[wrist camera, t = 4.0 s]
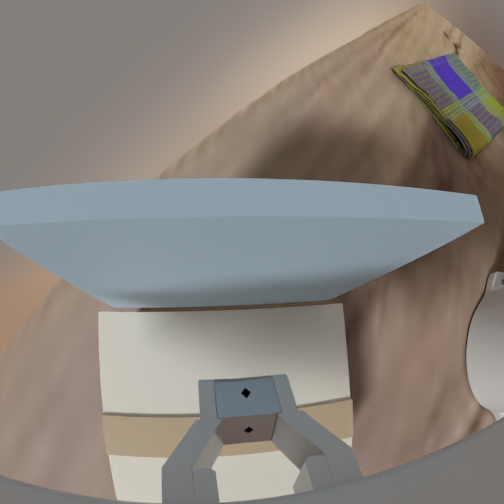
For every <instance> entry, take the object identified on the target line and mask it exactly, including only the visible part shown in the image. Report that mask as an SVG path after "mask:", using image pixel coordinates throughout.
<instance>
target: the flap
mask: <svg viewBox="0 0 504 504" xmlns="http://www.w3.org/2000/svg"><path fill="white" fill-rule="evenodd" d="M483 223H484V219H483V215H482V212H481V208H480V205H479V202H478V198H477V195H470V194H463V193H455V192H447V191H439V190H430V189H421V188H411V187H401V186H390V185H378V184H366V183H352V182H336V181H317V180H294V179H258V178H184V179H151V180H127V181H109V182H94V183H93V182H92V183H79V184H68V185H57V186H56V185H55V186H45V187H35V188H26V189H17V190H9V191H2V192H0V240H2V241H3V242H4V243H6V244H7V245H9V246H10V247H12V248H13V249H15V250H16V251H18V252H19V253H21V254H23V255H24V256H26V257H27V258H29V259H30V260H32V261H34V262H35V263H37V264H38V265H40V266H42V267H43V268H45V269H46V270H48V271H50V272H51V273H53V274H55V275H57V276H58V277H60V278H61V279H63V280H65V281H67V282H68V283H70V284H72V285H73V286H75V287H77V288H79V289H80V290H82V291H84V292H86V293H88V294H89V295H91V296H93V297H95V298H97V299H99V300H100V301H102V302H104V303H106V304H108V305H110V306H112V307H114V308H160V307H207V306H236V305H258V304H277V303H294V302H310V301H324V300H330V299H332V298H335V297H337V296H339V295H341V294H344V293H346V292H348V291H350V290H352V289H355V288H357V287H359V286H361V285H363V284H366V283H368V282H370V281H372V280H374V279H376V278H378V277H381V276H383V275H385V274H387V273H389V272H391V271H393V270H395V269H397V268H399V267H401V266H403V265H405V264H407V263H409V262H411V261H413V260H415V259H417V258H419V257H421V256H423V255H425V254H427V253H429V252H431V251H433V250H435V249H437V248H439V247H441V246H443V245H445V244H447V243H448V242H450V241H452V240H454V239H456V238H458V237H460V236H462V235H463V234H465V233H467V232H469V231H471V230H473V229H474V228H476V227H478V226H480V225H482V224H483Z"/></svg>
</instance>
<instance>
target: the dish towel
mask: <svg viewBox="0 0 504 504" xmlns="http://www.w3.org/2000/svg"><path fill="white" fill-rule="evenodd" d="M392 69H393V71H394V72H395V73H396V75H397V76H398V77H399V78H400V79H401V81H402V82H403V83H404V84H405V85H406V86H407V87H408V88H409V89H410V90H411V92H412V93H413V94H414V95H415V96H416V97H417V98H418V99H419V101H420V102H421V103H422V104H423V105H424V106H425V107H426V109H427V110H428V111H429V112H430V113H431V114H432V116H433V117H434V118H435V119H436V121H437V122H438V124H439V125H440V126H441V127H442V129H443V130H444V131H445V133H446V134H447V135H448V137H449V138H450V139H451V141H452V142H453V144H454V145H455V146H456V148H457V149H458V150H459V152H460V153H461V154H462V155H463V156H464V157H466V158H469V159H471V158H473V157H474V156H475V155H477V154H478V153H479V152H480V151H481V150H483V149H484V148H485V147H486V146H487V145H488V144H489V143H490V142H491V141H492V140H493V138H494V137H495V136H496V135H497V133H498V132H499V131H500V130H502V128H504V107H503V106H501V105H500V104H499V103H498V102H497V101H496V100H495V99H494V98H493V97H492V96H491V95H490V94H489V93H488V92H487V91H486V90H485V89H484V88H483V87H482V86H481V85H480V83H479V82H478V80H477V79H476V78H475V77H474V75H473V74H472V73H471V72H470V71H469V70H468V69H467V68H466V66H465V65H464V64H463V63H462V62H461V60H460V59H459V58H458V56H457V55H456V54H454V53H452V54H448V55H444V56H441V57H438V58H435V59H431V60H426V61H423V62H417V63H414V64H408V65H402V66H399V65H398V66H392Z"/></svg>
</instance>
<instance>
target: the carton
mask: <svg viewBox="0 0 504 504" xmlns="http://www.w3.org/2000/svg"><path fill="white" fill-rule="evenodd" d="M99 360H100V378H101V392H102V404H103V414H102V422H103V431H104V438H105V446H106V452H107V454H108V455H109V460H110V466H111V471H112V477H113V482H114V487H115V492H116V497H117V500H121V501H131V502H145V503H162V466H163V465H164V463H165V462H166V461H167V459H168V458H169V457H170V455H171V454H172V452H173V451H174V450H175V448H176V447H177V446H178V444H179V443H180V441H181V440H182V439H183V437H184V436H185V434H186V433H187V431H188V430H189V429H190V427H191V426H192V424H193V423H194V422H195V420H196V419H200V408H199V390H198V380H205V379H213V381H214V379H238V378H246V377H257V376H267V375H280V374H286V375H287V376H288V380H289V383H290V386H291V389H292V392H293V395H294V399H295V402H296V405H297V408H298V411H300V410H303V411H304V412H305V413H307V414H308V415H309V416H310V417H312V418H313V419H314V420H316V421H317V422H318V423H320V424H321V425H322V426H323V427H325V428H326V429H327V430H329V431H330V432H331V433H333V434H334V435H335V436H337V437H338V438H339V439H341V440H342V441H344V442H345V443H346V444H348V445H349V446H350V447H351V448H352V437H354V421H353V399H350V384H349V369H348V356H347V344H346V333H345V322H344V313H343V304H342V303H338V304H325V305H312V306H297V307H282V308H264V309H244V310H219V311H183V312H99ZM211 469H213V470H214V471H216V479H217V486H218V494H219V501H220V502H234V501H245V500H255V499H263V498H270V497H277V496H284V495H290V494H294V490H293V485H294V483H295V481H296V479H297V477H298V475H299V473H300V470H299V469H298V468H297V467H296V466H295V465H294V464H293V463H292V462H291V461H290V460H289V459H288V458H287V457H286V456H285V455H284V454H283V453H282V452H281V451H280V450H279V449H278V448H277V447H276V446H275V445H274V444H273V443H272V442H271V441H261V442H248V443H239V444H228V445H223V448H222V450H221V451H220V453H219V455H218V457H217V459H216V461H215V462H214V464H213V466H212V468H211Z"/></svg>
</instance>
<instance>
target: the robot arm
mask: <svg viewBox="0 0 504 504" xmlns="http://www.w3.org/2000/svg"><path fill="white" fill-rule="evenodd" d="M466 363H467V373H468V379H469V383H470V387H471V390H472V392H473V394H474V396H475V398H476V400H477V401H478V402H479V403H480V404H481V405H482V406H483V407H484V408H486V409H488V410H490V411H491V412H492V413H493V414H494V416H495V419H496V420H497V421H495V422H494V423H492V424H490V425H488V426H487V427H485V428H483V429H481V430H479V431H477V432H475V433H473V434H471V435H470V436H468V437H466V438H464V439H461V440H459V441H457V442H455V443H453V444H451V445H449V446H447V447H445V448H442V449H440V450H438V451H435V452H433V453H431V454H428V455H426V456H424V457H421V458H419V459H416V460H413V461H411V462H408V463H406V464H403V465H400V466H397V467H395V468H392V469H389V470H386V471H383V472H380V473H377V474H373V475H370V476H367V477H363V476H362V473H361V471H360V468H359V466H358V463H357V460H356V458H355V455H354V453H353V450H352V448H351V447H350V446H349V445H348V444H346V443H345V442H344V441H342V440H341V439H339V438H338V437H337V436H335V435H334V434H333V433H331V432H330V431H329V430H327V429H326V428H325V427H323V426H322V425H321V424H320V423H318V422H317V421H316V420H314V419H313V418H312V417H310V416H309V415H308V414H307V413H305V412H304V411H303V410H300V411H298V408H297V405H296V402H295V399H294V395H293V392H292V389H291V386H290V383H289V380H288V376H287V375H286V374H280V375H267V376H257V377H246V378H238V379H214V381H213V379H205V380H198V390H199V408H200V419H196V420H195V422H194V423H193V424H192V426H191V427H190V429H189V430H188V431H187V433H186V434H185V436H184V437H183V439H182V440H181V441H180V443H179V444H178V446H177V447H176V448H175V450H174V451H173V452H172V454H171V455H170V457H169V458H168V459H167V461H166V462H165V463H164V465H163V466H162V503H145V502H131V501H121V500H111V499H103V498H96V497H89V496H83V495H77V494H72V493H67V492H62V491H57V490H53V489H48V488H44V487H40V486H36V485H32V484H28V483H25V482H21V481H18V480H15V479H11V478H8V477H5V476H2V475H0V504H504V273H503V272H498V271H497V272H493V273H491V274H490V275H489V278H488V281H487V286H486V292H485V295H484V297H483V299H482V300H481V302H480V304H479V305H478V307H477V309H476V311H475V313H474V315H473V318H472V321H471V325H470V329H469V333H468V339H467V350H466ZM261 441H271V442H272V443H273V444H274V445H275V446H276V447H277V448H278V449H279V450H280V451H281V452H282V453H283V454H284V455H285V456H286V457H287V458H288V459H289V460H290V461H291V462H292V463H293V464H294V465H295V466H296V467H297V468H298V469H299V470H300V473H299V475H298V477H297V479H296V481H295V483H294V485H293V490H294V494H290V495H284V496H277V497H270V498H263V499H255V500H245V501H234V502H220V501H219V494H218V486H217V479H216V471H214V470H213V469H211V468H212V466H213V464H214V462H215V461H216V459H217V457H218V455H219V453H220V451H221V450H222V448H223V445H228V444H239V443H248V442H261Z"/></svg>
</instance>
